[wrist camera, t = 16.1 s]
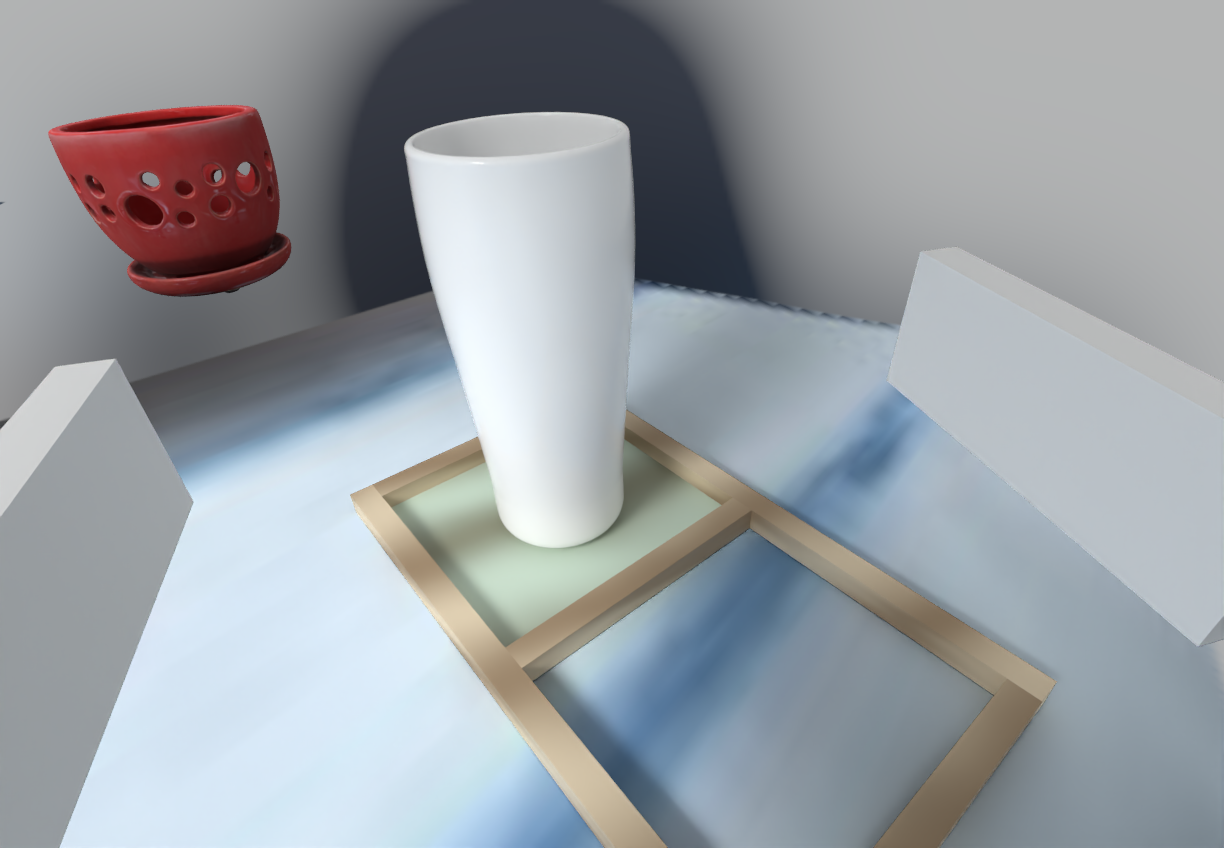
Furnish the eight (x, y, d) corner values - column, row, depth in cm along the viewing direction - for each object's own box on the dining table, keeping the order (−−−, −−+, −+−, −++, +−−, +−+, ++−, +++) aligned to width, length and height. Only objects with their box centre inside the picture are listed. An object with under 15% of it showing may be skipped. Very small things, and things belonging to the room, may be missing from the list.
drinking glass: (480, 472, 30) (408, 120, 21) (624, 451, 31) (610, 104, 22) (484, 583, 24) (388, 169, 16) (658, 553, 25) (656, 145, 17)
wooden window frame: (356, 512, 28) (350, 494, 28) (590, 401, 35) (589, 385, 34) (774, 1077, 13) (779, 1065, 13) (1045, 700, 20) (1057, 681, 19)
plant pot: (338, 264, 53) (291, 105, 47) (174, 325, 45) (87, 141, 38) (256, 237, 60) (204, 94, 53) (99, 285, 52) (14, 122, 45)
